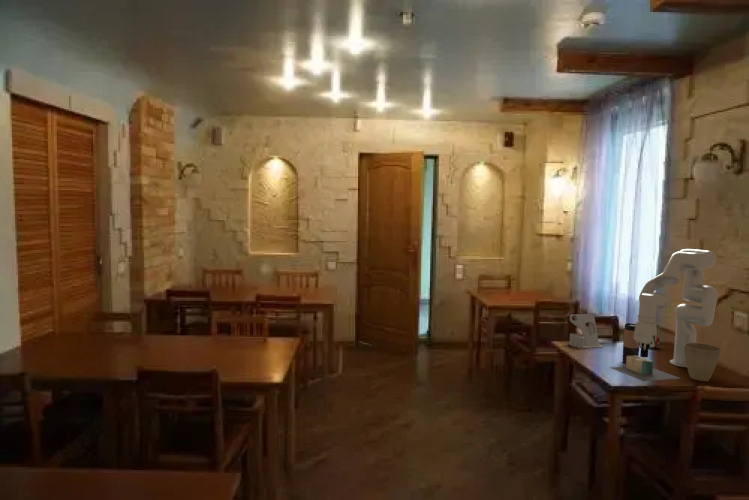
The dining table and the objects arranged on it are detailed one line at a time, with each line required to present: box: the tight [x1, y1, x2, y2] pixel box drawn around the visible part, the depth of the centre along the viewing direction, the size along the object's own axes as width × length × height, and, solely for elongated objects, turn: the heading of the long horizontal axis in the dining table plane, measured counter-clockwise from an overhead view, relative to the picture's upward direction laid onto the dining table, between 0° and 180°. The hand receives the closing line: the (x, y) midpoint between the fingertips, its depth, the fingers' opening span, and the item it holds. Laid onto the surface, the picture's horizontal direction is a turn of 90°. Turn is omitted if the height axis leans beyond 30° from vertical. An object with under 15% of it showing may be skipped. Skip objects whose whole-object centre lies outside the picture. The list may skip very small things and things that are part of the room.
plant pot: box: [684, 342, 722, 382], centre depth 263 cm, size 15×15×16 cm
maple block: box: [625, 355, 654, 374], centre depth 273 cm, size 6×6×11 cm
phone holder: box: [568, 313, 603, 349], centre depth 324 cm, size 17×10×18 cm, turn 109°
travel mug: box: [622, 322, 640, 365], centre depth 289 cm, size 8×8×20 cm
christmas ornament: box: [654, 334, 661, 348], centre depth 327 cm, size 9×9×10 cm
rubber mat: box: [609, 366, 681, 382], centre depth 270 cm, size 22×22×1 cm
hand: (644, 356), depth 270 cm, fingers closed
